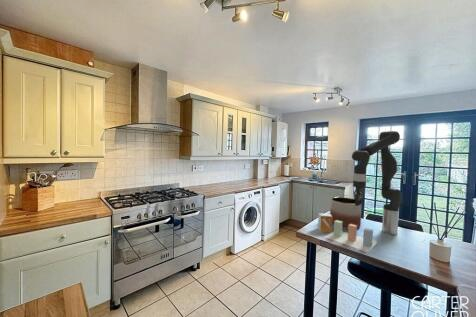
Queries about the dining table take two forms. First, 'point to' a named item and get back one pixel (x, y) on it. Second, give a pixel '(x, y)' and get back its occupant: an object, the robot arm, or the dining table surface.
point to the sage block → (338, 228)
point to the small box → (325, 222)
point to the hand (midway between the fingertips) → (358, 204)
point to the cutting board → (356, 244)
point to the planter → (345, 211)
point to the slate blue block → (367, 237)
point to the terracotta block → (352, 232)
